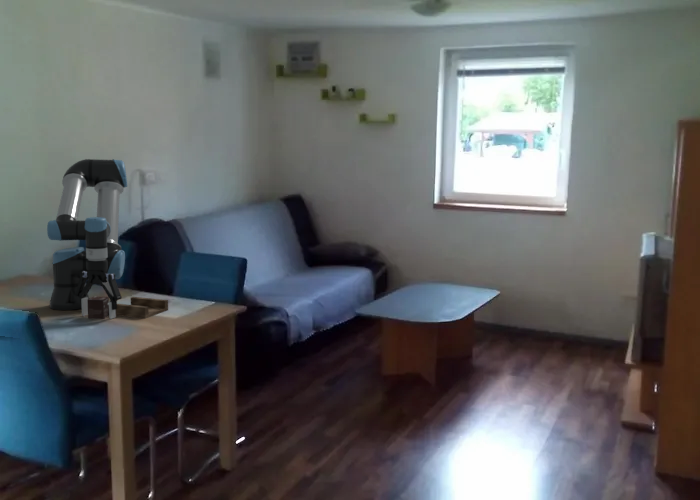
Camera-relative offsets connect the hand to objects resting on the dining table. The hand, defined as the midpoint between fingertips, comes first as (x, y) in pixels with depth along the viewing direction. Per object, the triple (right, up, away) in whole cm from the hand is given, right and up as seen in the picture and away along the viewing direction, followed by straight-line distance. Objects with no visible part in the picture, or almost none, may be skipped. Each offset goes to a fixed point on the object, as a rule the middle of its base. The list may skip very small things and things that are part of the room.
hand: (98, 316), depth 257 cm
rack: (+12, +1, +9) cm, 15 cm away
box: (0, 0, 0) cm, 1 cm away
